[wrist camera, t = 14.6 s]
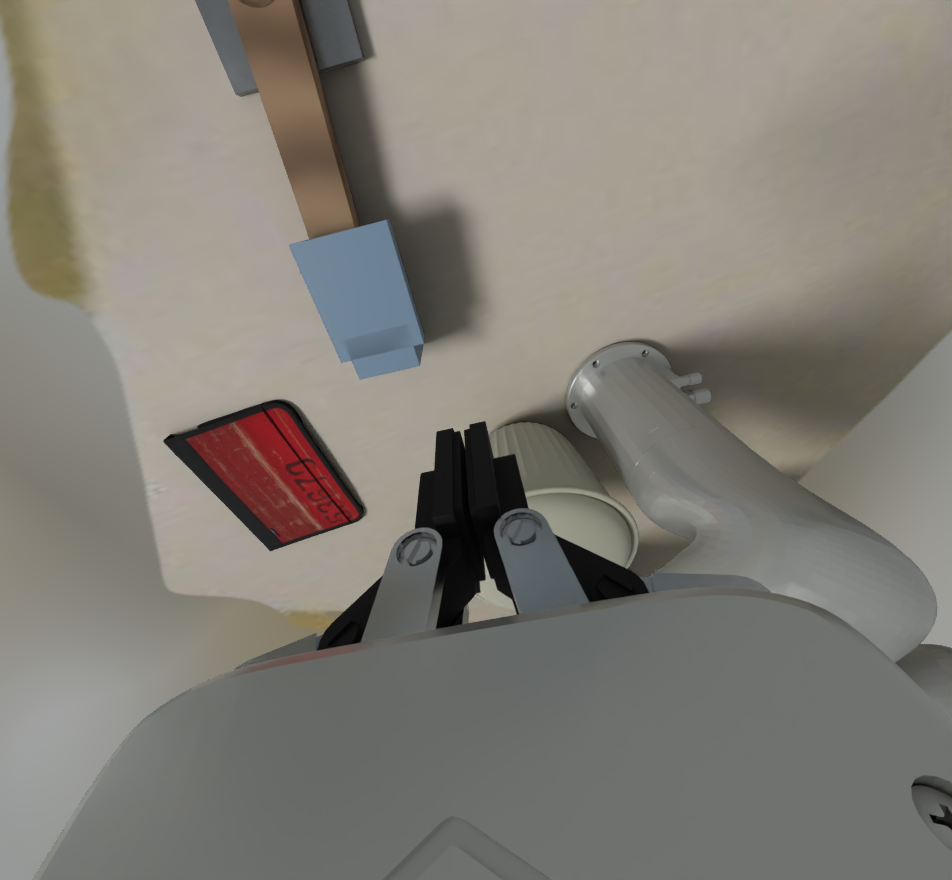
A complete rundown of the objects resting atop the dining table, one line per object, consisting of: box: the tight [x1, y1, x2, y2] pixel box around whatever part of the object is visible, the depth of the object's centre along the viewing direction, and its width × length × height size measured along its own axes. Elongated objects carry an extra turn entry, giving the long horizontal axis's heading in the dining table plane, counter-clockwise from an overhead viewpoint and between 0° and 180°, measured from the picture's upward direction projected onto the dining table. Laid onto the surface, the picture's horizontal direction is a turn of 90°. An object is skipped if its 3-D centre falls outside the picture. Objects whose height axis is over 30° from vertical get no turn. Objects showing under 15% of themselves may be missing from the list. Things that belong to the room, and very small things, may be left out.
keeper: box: [289, 219, 425, 379], centre depth 34 cm, size 8×12×6 cm, turn 12°
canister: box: [475, 422, 639, 611], centre depth 41 cm, size 18×18×21 cm
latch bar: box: [228, 0, 360, 239], centre depth 28 cm, size 23×4×4 cm, turn 8°
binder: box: [164, 400, 364, 551], centre depth 49 cm, size 16×2×21 cm
